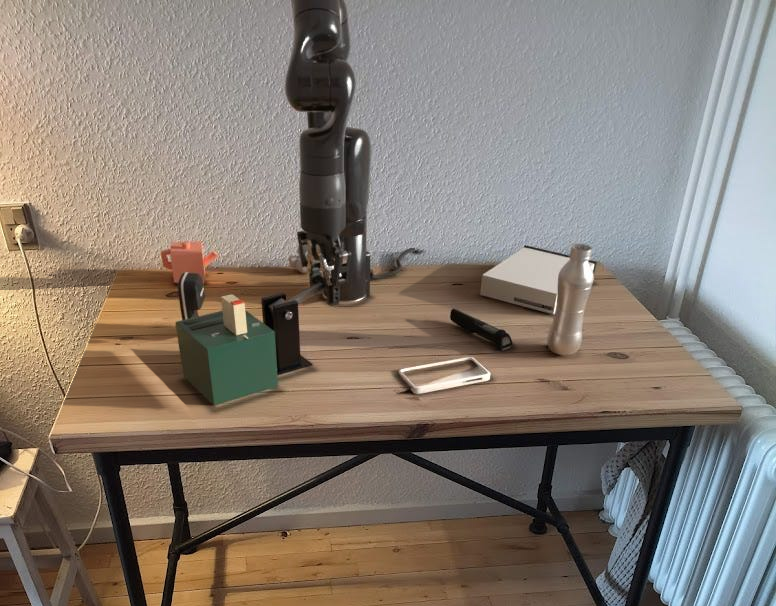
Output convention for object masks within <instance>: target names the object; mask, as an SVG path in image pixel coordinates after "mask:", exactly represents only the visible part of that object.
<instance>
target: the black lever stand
mask: <svg viewBox="0 0 776 606" xmlns="http://www.w3.org/2000/svg"><path fill="white" fill-rule="evenodd" d="M281 298H282V299H284V300H285V301H287V294H286V293H285V292H279V293H275V294H271V295H266V296H263V297H261V298H260V301H261V314H262V315H261V316H262V323H264V324H265V325H266V326H268V327H269V328H270V329H272V330H273V331H274V332H275V347H276V362H277V377H279V376H281V375H284V374H288V373H291V372H295V371H298V370H301V369H304V368H309V367H311V366H313V363H312V362H311V361H309V360H308V359H307V358H305V356H303V355H302V354H301V339H300V338H301V337H300V318H299V317H300V316H299V313H300V312H299V304H298V302H297V301H295V300H294V301H290V302H286V303H282V304H278V305H274V306H273V317H272V315H271V312H270V309H269V305H270V304H272V303H274V302H276V301H277V300H279V299H281Z"/></svg>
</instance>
